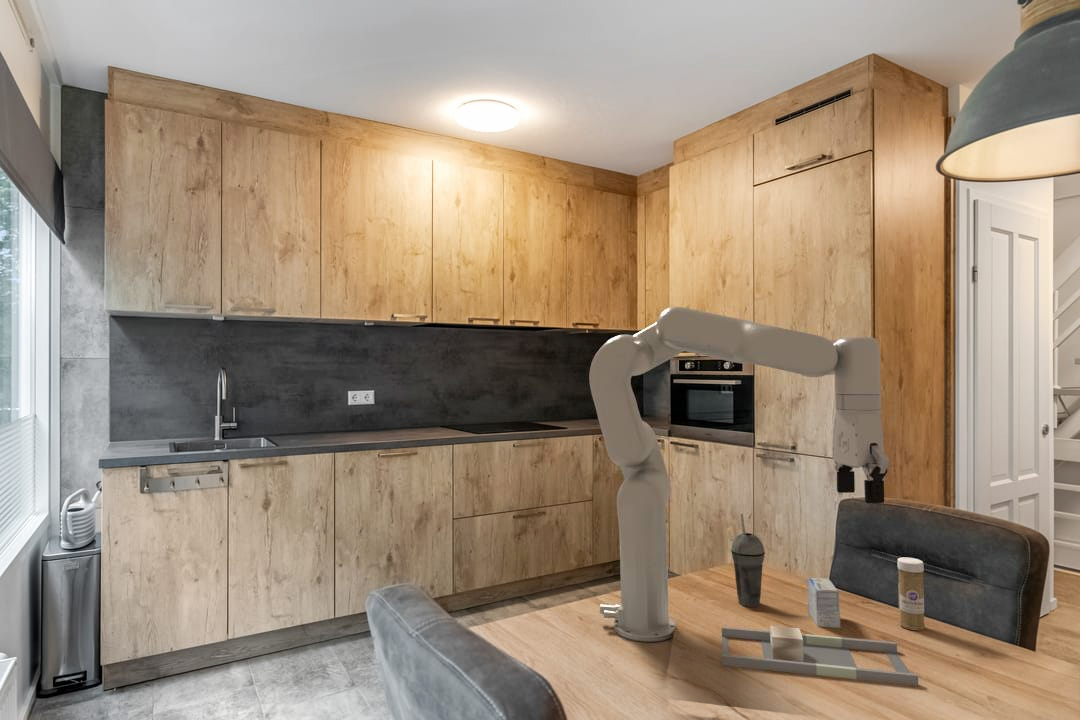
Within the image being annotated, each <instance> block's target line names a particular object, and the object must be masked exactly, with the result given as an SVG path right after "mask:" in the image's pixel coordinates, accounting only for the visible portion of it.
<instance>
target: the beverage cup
mask: <svg viewBox="0 0 1080 720" xmlns="http://www.w3.org/2000/svg"><path fill="white" fill-rule="evenodd" d="M740 521H741V527H742V533H740V534H738V535H737V536H736V537H735V538H734V540H732V544H731V548H730V552H731V557H732V560H733V566H734V577H735V584H736V585H735V586H736V593H737V599H738V605H740V604H741V606H742V605H743V606H742V607H746V606H747V608H757V607H759V606H760V601H761V596H762V595H761V594H762V579H763V563H764V559H765V554H766V551H765V549H764V548H765V547H764V544H763V543H762V540H760V538H759V537H758V536H757V535H755V534H753V533H751V532H746V527H745V520H744V514H743V513H740Z"/></svg>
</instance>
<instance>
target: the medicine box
mask: <svg viewBox="0 0 1080 720" xmlns="http://www.w3.org/2000/svg"><path fill="white" fill-rule="evenodd" d="M807 599H808V600H807V602H808V603H807V606H808V607H807V608H808V617H811V618H812V620H813V621H814V623H815V625H816V627H821V628H841V611H840V592H839V590H838V589H837V588H836V587H835V585H834V584H833V582H832V580H830V579H829V578H825V577H824V578H822V577H820V578H819V577H808V578H807Z"/></svg>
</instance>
